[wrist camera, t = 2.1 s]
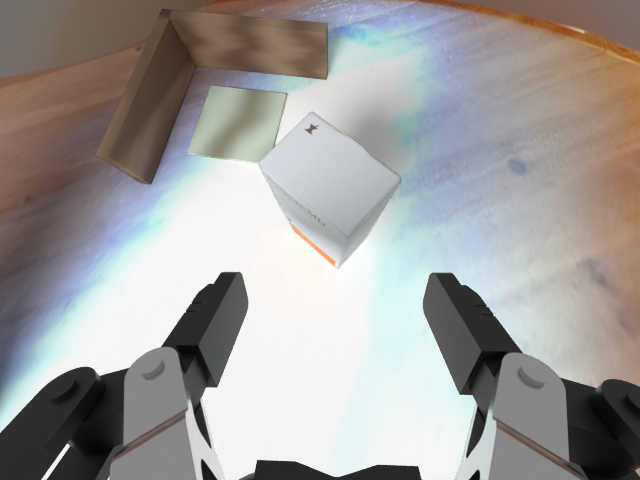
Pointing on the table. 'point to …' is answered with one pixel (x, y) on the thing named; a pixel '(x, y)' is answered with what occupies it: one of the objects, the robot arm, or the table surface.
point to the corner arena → (222, 102)
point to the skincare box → (328, 187)
